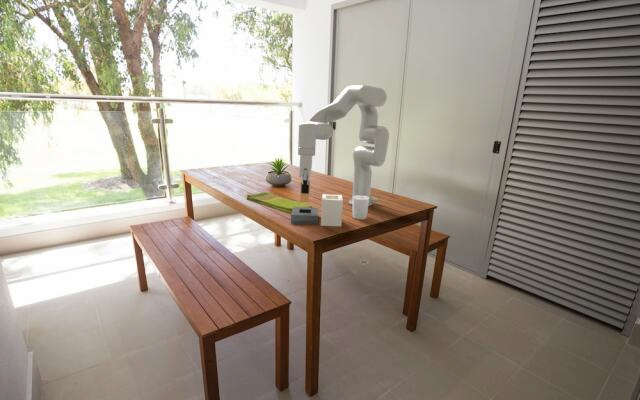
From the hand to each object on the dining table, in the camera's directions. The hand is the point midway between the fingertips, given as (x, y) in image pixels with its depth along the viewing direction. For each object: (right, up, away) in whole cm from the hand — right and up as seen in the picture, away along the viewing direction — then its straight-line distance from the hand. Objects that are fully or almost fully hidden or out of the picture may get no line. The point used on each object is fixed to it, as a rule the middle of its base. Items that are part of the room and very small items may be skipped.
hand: (305, 191), depth 148 cm
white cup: (+26, -12, +10) cm, 30 cm away
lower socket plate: (0, -13, +4) cm, 13 cm away
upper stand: (+12, -14, +1) cm, 18 cm away
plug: (0, -4, +1) cm, 4 cm away
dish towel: (-16, -6, +27) cm, 32 cm away
